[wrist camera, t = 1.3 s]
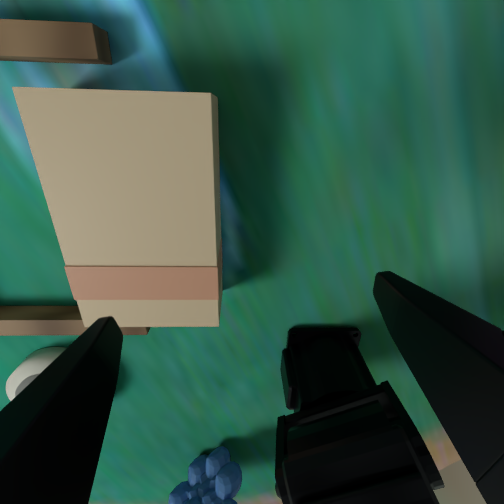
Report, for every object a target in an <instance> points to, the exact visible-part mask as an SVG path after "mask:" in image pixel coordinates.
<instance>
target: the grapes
mask: <svg viewBox="0 0 504 504" xmlns="http://www.w3.org/2000/svg"><path fill="white" fill-rule="evenodd" d="M188 481H189V482H188ZM188 481H185V482H181V483H180V484H179V485H177V486H176V487H175V488H174V490H173V491H172V492H171V493H170V495H169V504H237V502H236V501H235V500H233V499H232V498H233V497H235V496H236V494H237V493H238V491H239V489H240V487H241V482H242V471H241V469H240V466H239V464H237V463H236V462H234V461H232V462H231V460H230V453H229V451H228V449H227V448H225V447H224V446H221V447H217V448H216V449H214V450H213V451H212V452H211V453H210V454H209V456H208V455H206V454H204V455H200V456H199V457H197V458H196V459H195V460H194V461H193V462H192V463H191V464H190V466H189V470H188Z"/></svg>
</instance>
